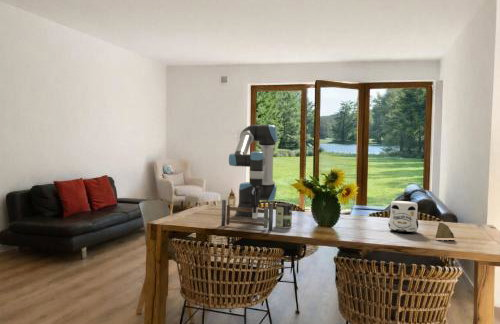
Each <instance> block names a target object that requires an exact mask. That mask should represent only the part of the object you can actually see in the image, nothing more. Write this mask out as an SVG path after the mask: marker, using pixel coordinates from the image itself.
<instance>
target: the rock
mask: <svg viewBox="0 0 500 324" xmlns="http://www.w3.org/2000/svg"><path fill="white" fill-rule="evenodd" d="M436 229H437V230H436V234H435V238H455V236H454V235H455V234H454V233H453V232H452V231H451V228H450V227H449V226H448V225H447V224H445V223H444V222H439V223H438V226H437V228H436Z"/></svg>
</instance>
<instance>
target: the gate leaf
mask: <svg viewBox="0 0 500 324" xmlns="http://www.w3.org/2000/svg"><path fill="white" fill-rule="evenodd" d="M231 211H235V212H236V211H244V212H253V208H241V207H238V206H231V205H230V204H226V219H225V226H226V225H227V226H230V225H231V224H237V225H246V226H247V225H249V226H257V227H263V229H268V225H269V207H264V208H258V213H259V214H263V222H258V221H257V222H256V221H245V220H236V219H231Z"/></svg>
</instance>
